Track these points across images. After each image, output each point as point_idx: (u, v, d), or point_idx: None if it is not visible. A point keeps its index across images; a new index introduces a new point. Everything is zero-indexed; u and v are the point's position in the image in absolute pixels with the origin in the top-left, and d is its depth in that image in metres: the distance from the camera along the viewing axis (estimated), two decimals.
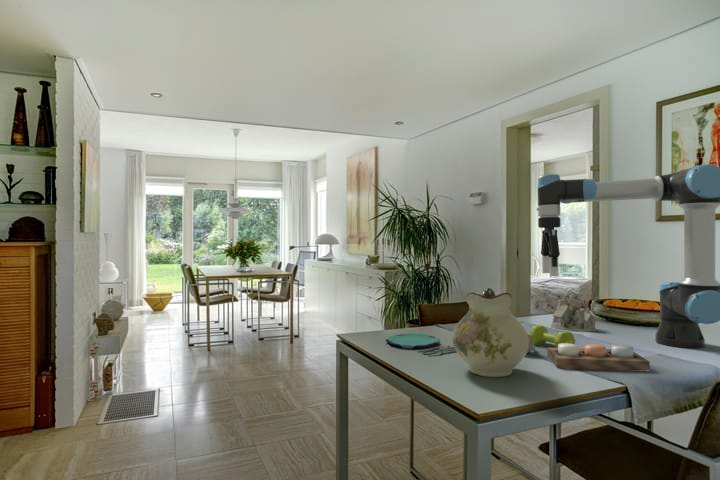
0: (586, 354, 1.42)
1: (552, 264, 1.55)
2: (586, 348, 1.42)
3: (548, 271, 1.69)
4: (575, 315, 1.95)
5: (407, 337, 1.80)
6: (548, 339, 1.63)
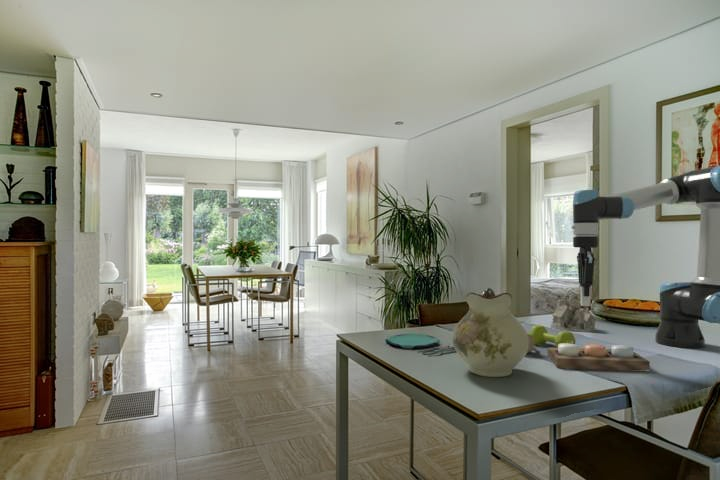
0: (586, 354, 1.42)
1: (584, 294, 1.48)
2: (586, 348, 1.42)
3: None
4: (575, 315, 1.95)
5: (406, 337, 1.80)
6: (548, 339, 1.63)
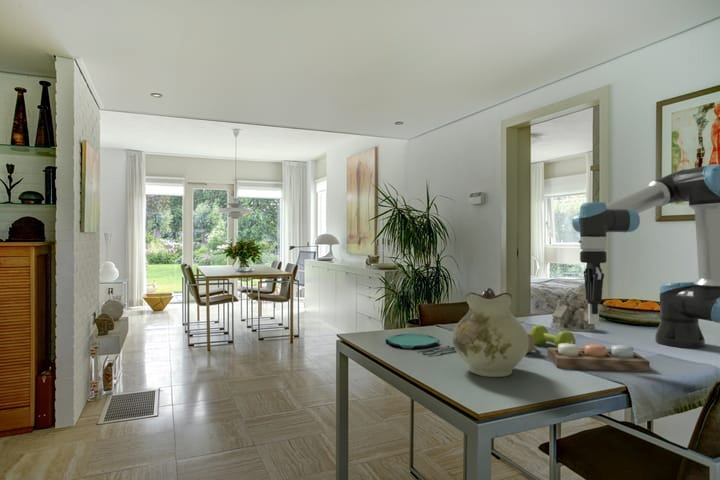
0: (586, 354, 1.42)
1: (592, 311, 1.41)
2: (586, 348, 1.42)
3: None
4: (575, 315, 1.95)
5: (406, 337, 1.80)
6: (548, 339, 1.63)
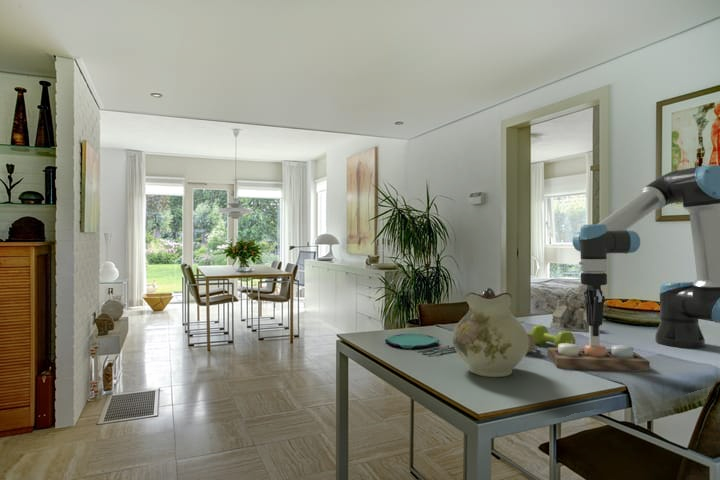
0: (586, 354, 1.42)
1: (593, 333, 1.41)
2: (586, 348, 1.42)
3: None
4: (574, 315, 1.95)
5: (406, 337, 1.80)
6: (548, 339, 1.63)
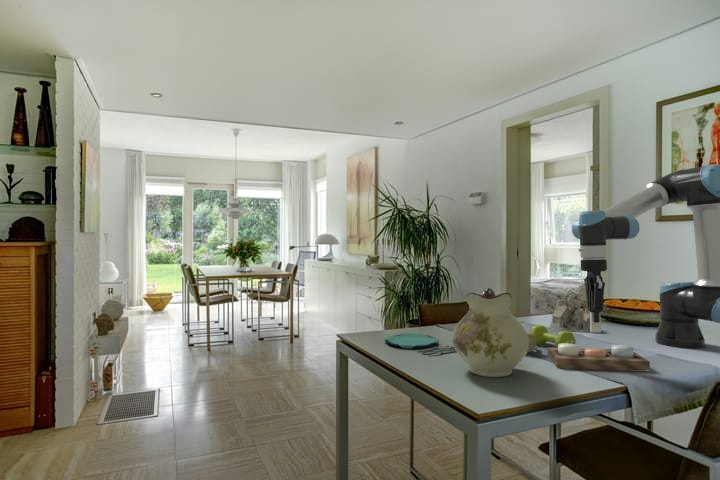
0: None
1: (594, 320, 1.41)
2: (586, 352, 1.42)
3: None
4: (574, 315, 1.95)
5: (406, 337, 1.80)
6: (548, 339, 1.63)
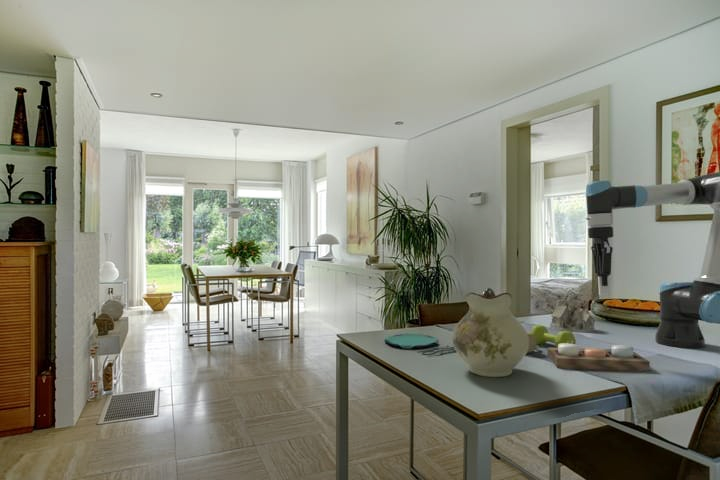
0: None
1: (602, 283, 1.50)
2: (586, 352, 1.42)
3: None
4: (574, 315, 1.94)
5: (405, 337, 1.80)
6: (548, 339, 1.63)
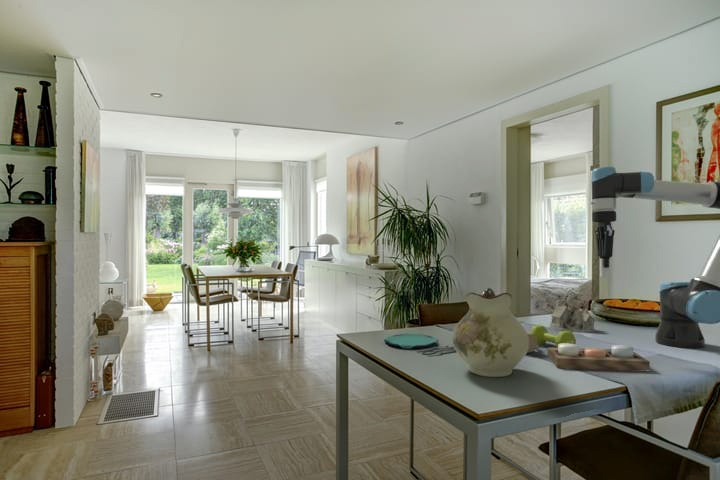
0: None
1: (604, 265, 1.57)
2: (586, 352, 1.42)
3: None
4: (574, 316, 1.94)
5: (405, 337, 1.80)
6: (548, 339, 1.63)
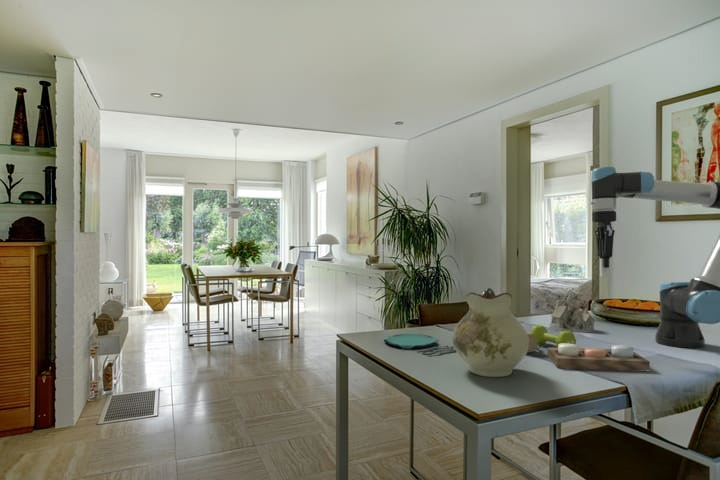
0: None
1: (604, 265, 1.57)
2: (586, 352, 1.42)
3: None
4: (573, 316, 1.94)
5: (405, 337, 1.79)
6: (549, 339, 1.63)
